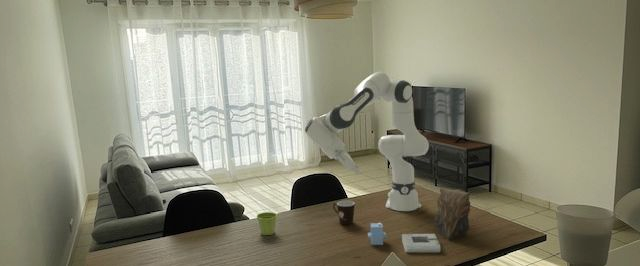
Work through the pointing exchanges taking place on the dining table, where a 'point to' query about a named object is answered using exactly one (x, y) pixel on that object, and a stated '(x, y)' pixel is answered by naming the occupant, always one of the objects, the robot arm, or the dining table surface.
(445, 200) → the brown tall rough block
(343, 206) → the coffee mug
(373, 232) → the servo
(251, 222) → the dining table surface
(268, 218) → the plant pot
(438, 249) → the chassis
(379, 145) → the robot arm
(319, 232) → the dining table surface
